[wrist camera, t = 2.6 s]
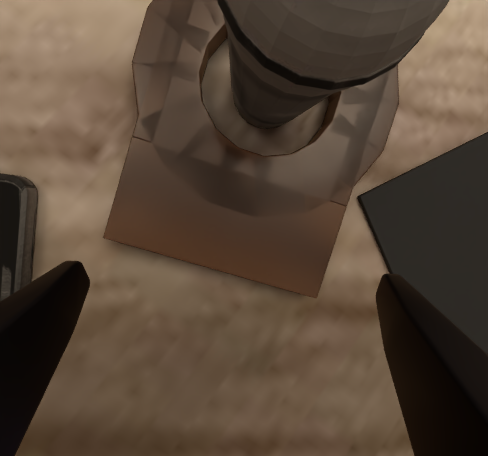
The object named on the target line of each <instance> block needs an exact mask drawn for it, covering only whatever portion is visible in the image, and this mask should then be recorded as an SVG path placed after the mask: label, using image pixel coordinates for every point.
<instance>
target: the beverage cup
mask: <svg viewBox="0 0 488 456" xmlns="http://www.w3.org/2000/svg"><path fill="white" fill-rule="evenodd" d="M217 2H218V5H219V7H220V9H221V11H222V13H223V17H224V21H225V25H226V28H227V32H228V45H229V59H230V73H231V86H232V92H233V97H234V102H235V106H236V108H237V110H238V112H239V114H240V115H241V116H242V117H243V118H244V119H245V120H246V121H247V122H248V123H250V124H252V125H254V126H256V127H259V128H266V129H268V128H274V127H278V126H280V125H282V124H285V123H286V122H288V121H290V120H292V119H294V118H295V117H297V116H298V115H300V114H302V113H303V112H305V111H306V110H308V109H309V108H311V107H312V106H314V105H316V104H317V103H319V102H320V101H322V100H323V99H325V98H326V97H328V96H330V95H331V94H333V93H336V92H339V91H342V90H345V89H348V88H350V87H353V86H358V85H364V84H366V83H368V82H370V81H371V80H373V79H375V78H377V77H379V76H380V75H382V74H384V73H386V72H388V71H390V70H391V69H393V68H395V67H396V66H397V64H398V63H399V62H400V61H401V60H402V59H403V58H404V57H405V56H406V55H407V54H408V53H409V51H410V50H411V49H412V48H413V47H414V46H415V45H416V44H417V43H418V42H419V40H420V39H421V37H422V36H423V35H424V33H425V31H426V30H427V29H428V27H429V26H430V25H431V24H432V23H433V22H434V21H435V20H436V19H437V17H438V16H439V15H440V13H441V12H442V11H443V9H444V8H445V7H446V5H447V4H448V2H449V0H217Z"/></svg>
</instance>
